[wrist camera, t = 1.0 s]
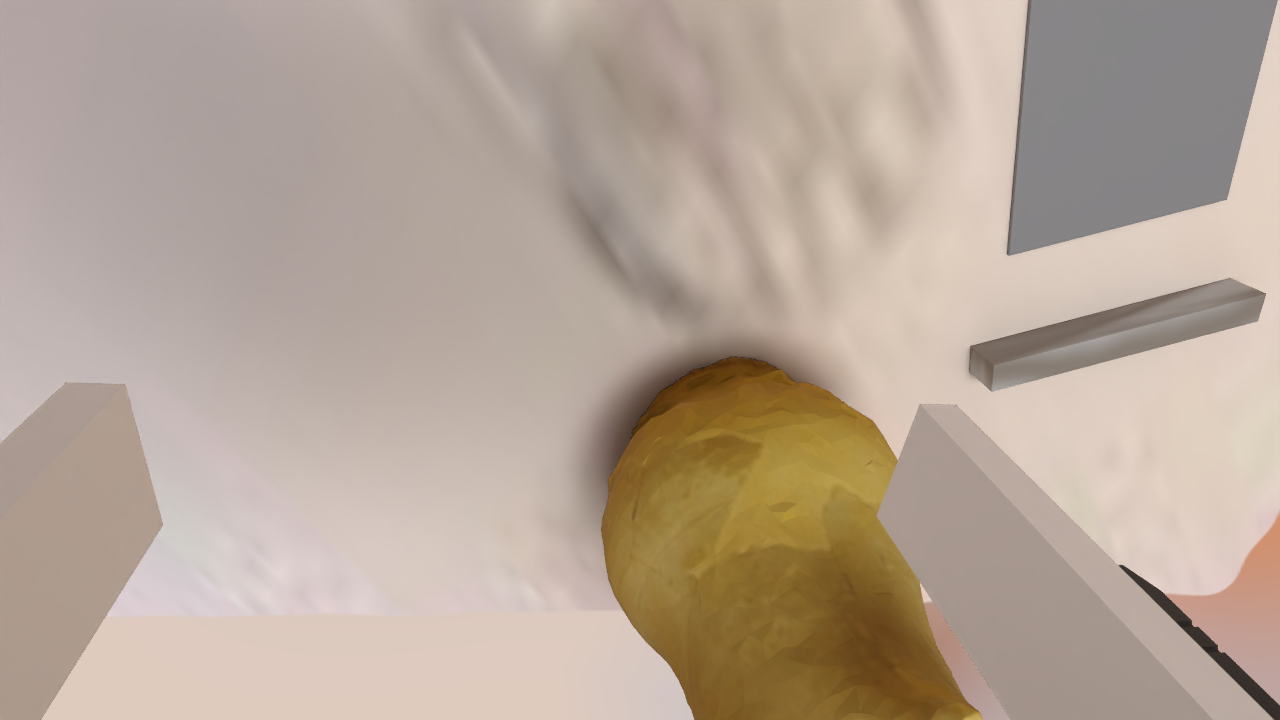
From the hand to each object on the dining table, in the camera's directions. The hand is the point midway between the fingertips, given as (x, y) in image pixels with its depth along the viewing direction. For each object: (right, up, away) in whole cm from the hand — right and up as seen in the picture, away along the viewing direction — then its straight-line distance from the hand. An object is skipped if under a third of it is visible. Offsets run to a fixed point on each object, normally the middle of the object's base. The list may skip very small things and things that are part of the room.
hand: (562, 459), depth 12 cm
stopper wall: (+32, +4, +33) cm, 46 cm away
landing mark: (+29, +16, +26) cm, 42 cm away
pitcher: (+6, -4, +34) cm, 34 cm away
